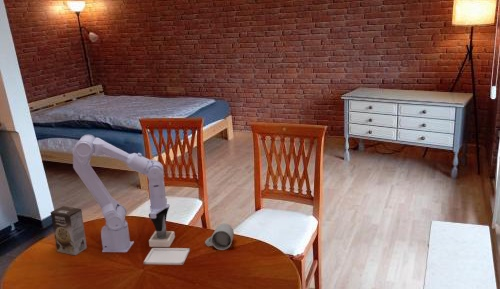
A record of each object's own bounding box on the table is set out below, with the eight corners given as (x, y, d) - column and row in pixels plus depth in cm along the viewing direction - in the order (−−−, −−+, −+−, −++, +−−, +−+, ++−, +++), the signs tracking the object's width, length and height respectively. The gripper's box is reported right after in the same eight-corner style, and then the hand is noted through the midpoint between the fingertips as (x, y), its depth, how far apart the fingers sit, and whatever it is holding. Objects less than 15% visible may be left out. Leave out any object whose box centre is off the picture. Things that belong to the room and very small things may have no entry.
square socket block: (149, 247, 166) (148, 240, 165) (155, 238, 173) (155, 231, 172) (169, 248, 165) (168, 240, 164) (174, 238, 172) (174, 231, 171)
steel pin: (155, 238, 167) (153, 216, 164) (158, 234, 170) (156, 212, 168) (165, 238, 166) (162, 216, 164) (167, 234, 170) (165, 212, 167)
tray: (143, 265, 154) (143, 262, 153) (152, 250, 163) (152, 247, 163) (183, 266, 152) (182, 262, 152) (189, 251, 162) (189, 248, 161)
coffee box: (56, 252, 165) (49, 212, 161) (69, 244, 171) (62, 205, 167) (75, 256, 162) (68, 215, 158) (87, 247, 168) (81, 208, 163)
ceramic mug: (235, 239, 169) (233, 220, 167) (232, 250, 161) (231, 230, 159) (207, 239, 170) (205, 221, 168) (203, 250, 162) (201, 231, 160)
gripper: (162, 202, 156) (165, 237, 160) (173, 187, 170) (176, 219, 174) (142, 201, 157) (146, 236, 160) (155, 187, 171) (158, 219, 174)
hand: (160, 228), depth 167 cm, fingers closed on steel pin, 4 cm apart
